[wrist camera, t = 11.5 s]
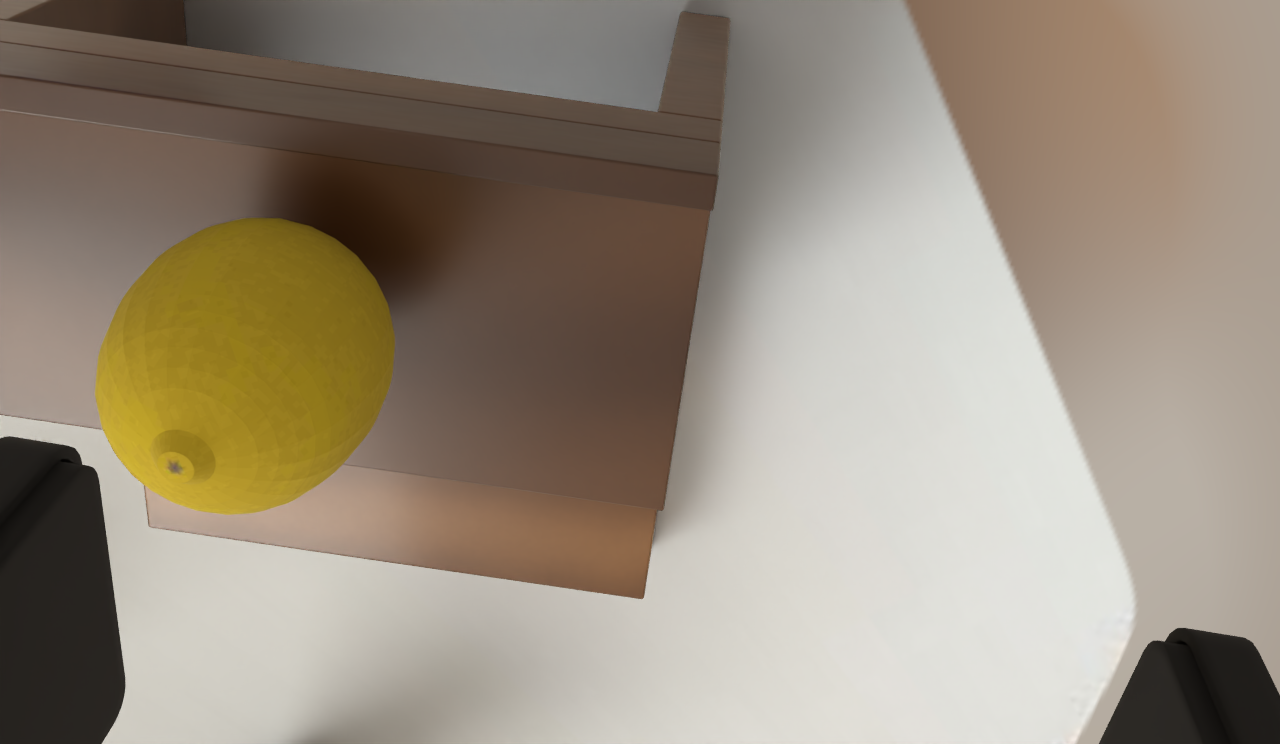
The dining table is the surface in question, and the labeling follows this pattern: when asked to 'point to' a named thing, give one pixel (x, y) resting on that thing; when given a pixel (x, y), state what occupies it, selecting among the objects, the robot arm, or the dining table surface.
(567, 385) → the stand
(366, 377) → the lemon
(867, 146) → the dining table surface
